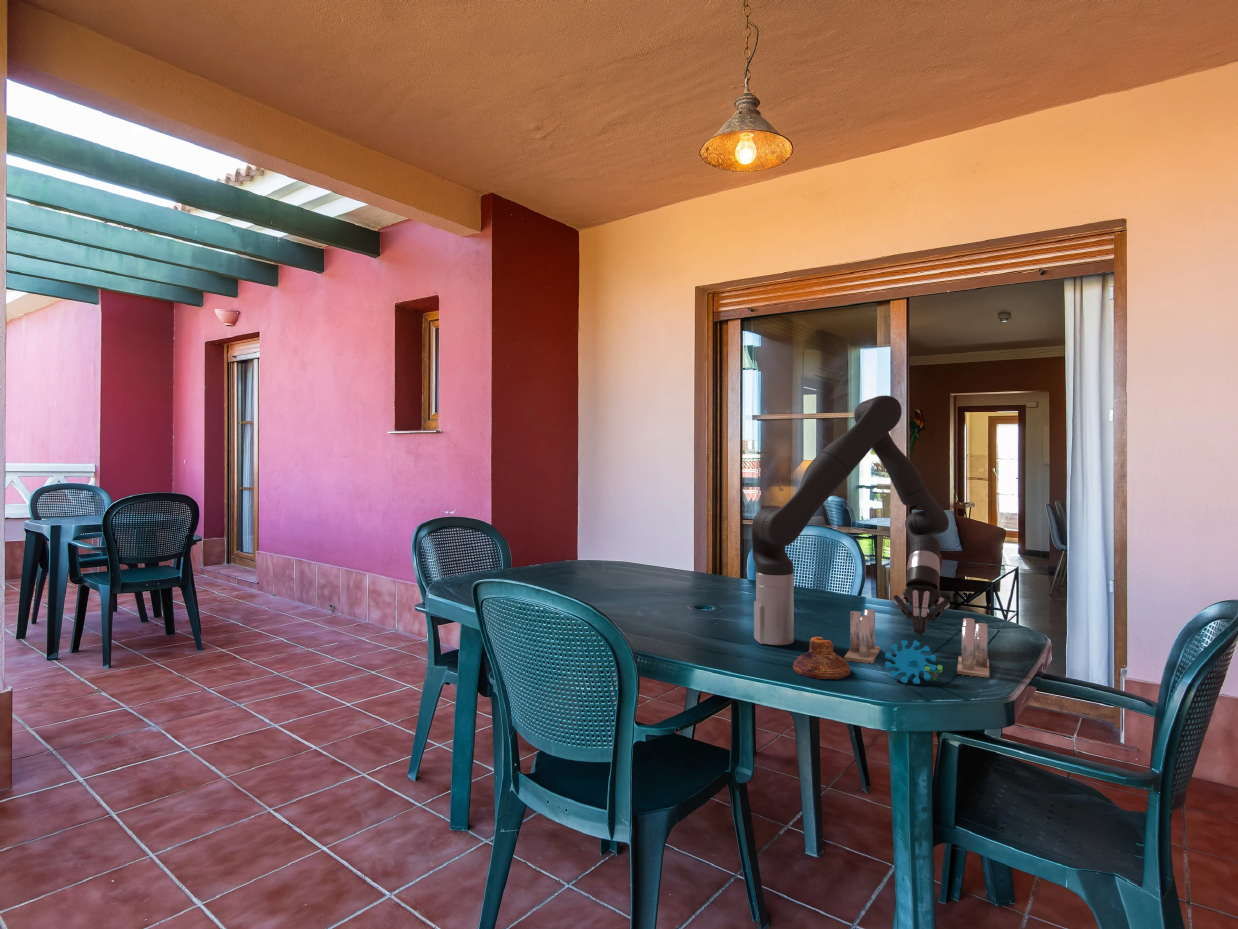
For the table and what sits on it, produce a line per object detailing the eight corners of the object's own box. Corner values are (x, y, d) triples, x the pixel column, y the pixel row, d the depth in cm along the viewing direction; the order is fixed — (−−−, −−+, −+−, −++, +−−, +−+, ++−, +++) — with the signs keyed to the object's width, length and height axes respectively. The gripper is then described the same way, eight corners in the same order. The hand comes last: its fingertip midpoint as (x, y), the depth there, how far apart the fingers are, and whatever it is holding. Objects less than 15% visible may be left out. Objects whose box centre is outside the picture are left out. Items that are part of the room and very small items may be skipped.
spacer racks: (853, 646, 169) (853, 643, 169) (988, 662, 156) (988, 659, 155) (844, 660, 157) (844, 657, 157) (989, 678, 144) (989, 674, 144)
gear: (877, 672, 143) (892, 632, 148) (880, 686, 147) (895, 647, 152) (934, 690, 136) (948, 647, 142) (936, 704, 140) (949, 662, 145)
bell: (789, 663, 156) (789, 631, 156) (844, 665, 154) (844, 632, 154) (796, 680, 144) (796, 645, 144) (856, 682, 143) (856, 646, 143)
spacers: (854, 645, 168) (854, 607, 168) (987, 660, 154) (987, 619, 154) (846, 655, 158) (846, 616, 158) (987, 672, 145) (987, 629, 145)
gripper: (893, 562, 174) (887, 621, 163) (952, 565, 168) (949, 627, 157) (896, 580, 179) (890, 638, 168) (953, 584, 173) (950, 645, 162)
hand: (919, 633), depth 163 cm, fingers closed
